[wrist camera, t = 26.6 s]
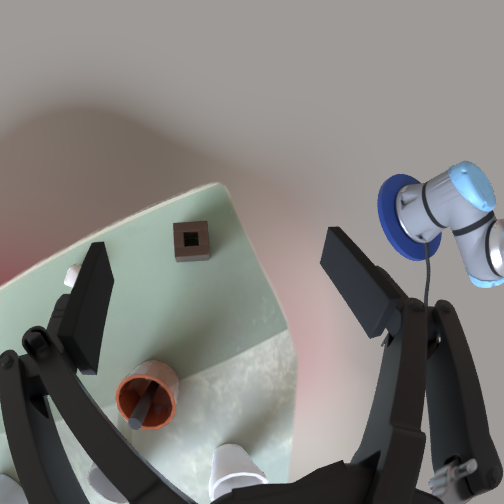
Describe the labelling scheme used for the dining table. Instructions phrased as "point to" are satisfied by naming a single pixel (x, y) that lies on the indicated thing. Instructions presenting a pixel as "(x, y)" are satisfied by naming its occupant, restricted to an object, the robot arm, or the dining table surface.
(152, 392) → the rod
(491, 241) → the robot arm
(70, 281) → the white seashell
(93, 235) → the dining table surface
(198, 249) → the holder
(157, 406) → the tumbler
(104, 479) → the mug
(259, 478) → the foam cup
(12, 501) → the cylinder vase
